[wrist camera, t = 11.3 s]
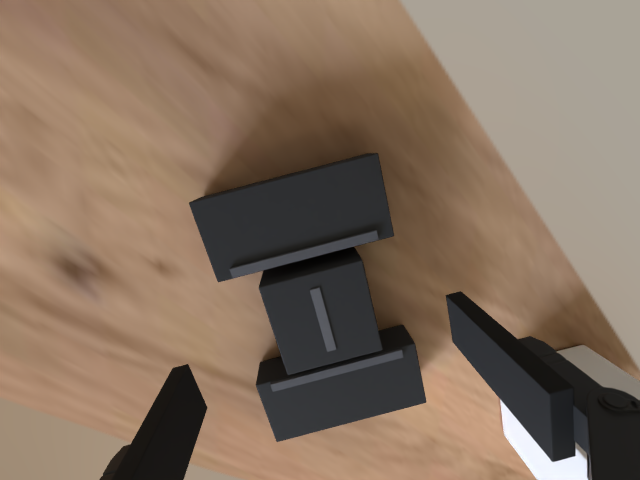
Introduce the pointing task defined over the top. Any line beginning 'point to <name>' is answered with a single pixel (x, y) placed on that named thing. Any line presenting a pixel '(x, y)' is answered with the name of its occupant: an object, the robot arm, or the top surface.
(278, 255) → the pad row
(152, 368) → the top surface
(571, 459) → the milk carton
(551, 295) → the top surface
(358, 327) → the loose pad
